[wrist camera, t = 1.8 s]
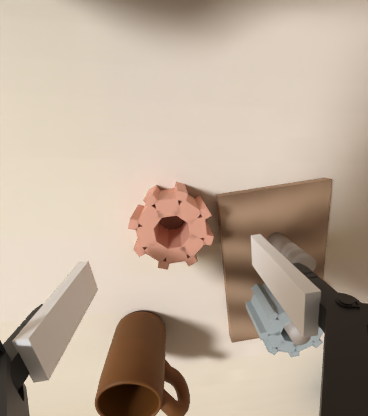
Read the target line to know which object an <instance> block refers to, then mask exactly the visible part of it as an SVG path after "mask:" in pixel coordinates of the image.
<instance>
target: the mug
mask: <svg viewBox="0 0 368 416" xmlns="http://www.w3.org/2000/svg"><path fill="white" fill-rule="evenodd" d="M165 339H166V333H165V326H164V324H163V322H162V320H161V319H160V318H159V317H158V316H156V315H155V314H153V313H150V312H145V311H138V312H133V313H130V314H128V315H126V316H125V317H124V318H123V319H121V321H120V322H119V324H118V325H117V328H116V330H115V333H114V336H113V340H112V343H111V346H110V349H109V352H108V355H107V358H106V361H105V365H104V368H103V371H102V374H101V378H100V381H99V386H98V390H97V394H96V398H95V407H96V410H97V412H98V414H99V415H100V416H155V415H156V414H157V413H158V412H159V410H160V409H161V410H162V411H163V412H164V413H165V414H166V415H167V416H184V415H185V414H186V412H187V411H188V408H189V404H190V394H189V389H188V386H187V383H186V381H185V379H184V377H183V376H182V375H181V373H180V372H179V371H177V370H176V369H175V368H173V367H171V366H170V365H169V363H168V362H167V361H166V360H165ZM164 381H166V382H168V383H170V384H171V385H172V386H173V387H174V388H175V390H176V393H177V397H178V401H176V400H175V399H174V398H173V397H172V396H171V395H170V394H169V393H168V392H167V391H165V389H164Z"/></svg>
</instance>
